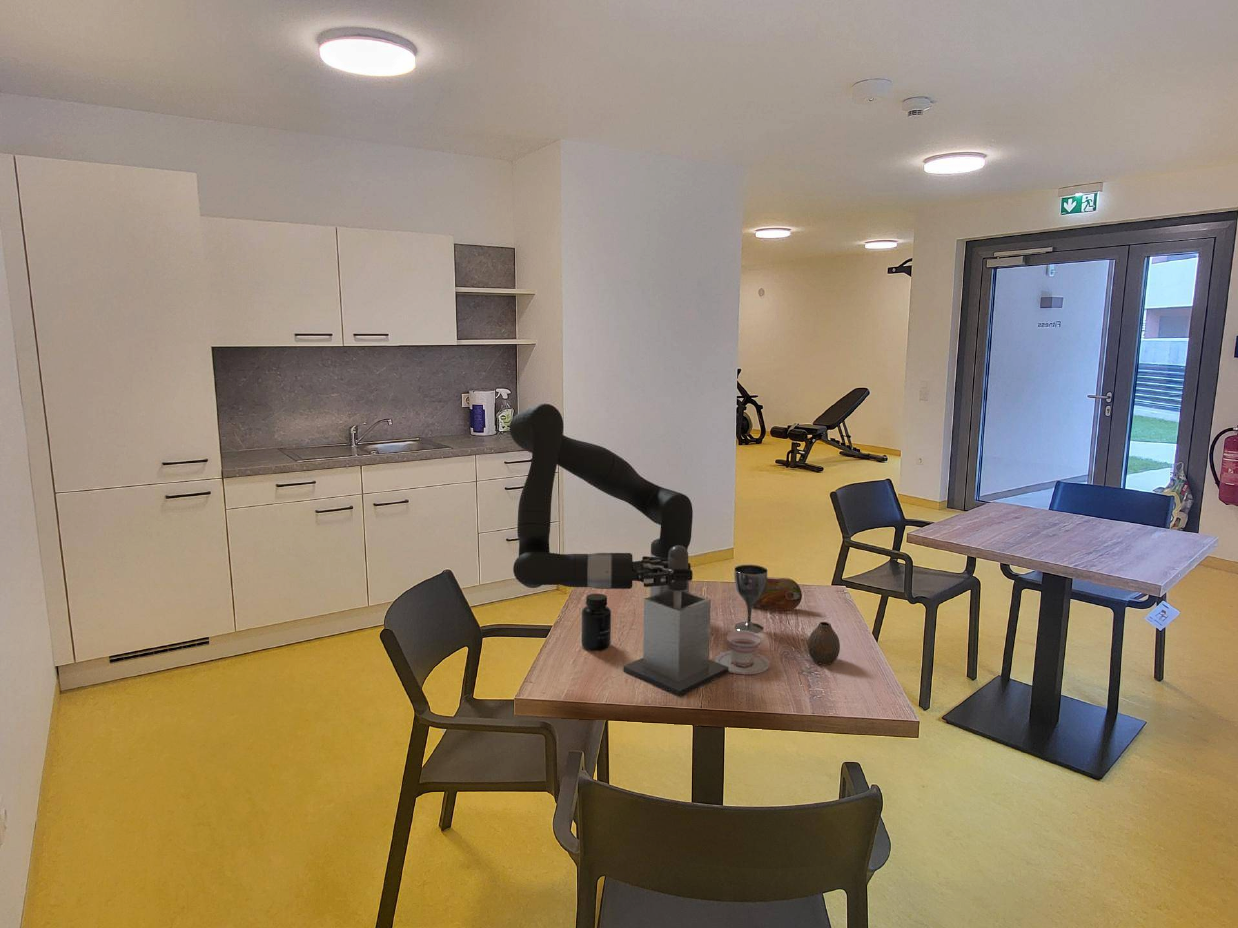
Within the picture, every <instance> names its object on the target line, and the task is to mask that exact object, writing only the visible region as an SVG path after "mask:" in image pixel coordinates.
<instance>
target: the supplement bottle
mask: <svg viewBox="0 0 1238 928" xmlns="http://www.w3.org/2000/svg"><path fill="white" fill-rule="evenodd" d="M585 605H586V606H584V607H583V609H582V611H581V637H580V639H581V646H582V648H583V649H585V650H588V651H591V652H601V651H604V650H607V649H609V647H611V644H612V643H611V641H612V640H611V639H612V638H611V637H612V634H611V633H612V632H611V631H612V610H611V608H610V607H609V606H607V605H608V596H607V595H606V594H603V593H590V594H588V595H586V599H585Z"/></svg>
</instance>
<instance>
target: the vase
mask: <svg viewBox="0 0 1238 928" xmlns="http://www.w3.org/2000/svg"><path fill="white" fill-rule="evenodd" d="M840 649H841V645H840V638H839V636H838V634H837V633H836V631H835V630H834V629H833V627H832V625H831V623H830V622H828V621H820V622H819V623H818V625H817V627H815V628H814V629H813V631H811V633H810V635H809V636H808V640H807V651H808V654H809V657H810V658H811V659H812V660H813V661H814V662H815V663H816V662H817V664H819V663H821V664H820V665H823V664H827V665H830V664H829V663H831V664H832V662H833V663H834V662H835V661H836V660H837V659H838V657H839V655H840Z"/></svg>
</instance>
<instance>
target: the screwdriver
mask: <svg viewBox="0 0 1238 928" xmlns="http://www.w3.org/2000/svg"><path fill="white" fill-rule="evenodd" d="M688 563H689V552H688V550H686V548H685V547H683V546H680V545H676V546H673V547H672V548H671V549H670V551H669V553H668V569H688ZM668 588H669V589H671V590H674V607H675V608H678V609H681V591H682V590H686V589H687V588H688V581H674V582H671V585H668Z"/></svg>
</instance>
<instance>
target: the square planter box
mask: <svg viewBox="0 0 1238 928" xmlns="http://www.w3.org/2000/svg"><path fill="white" fill-rule="evenodd" d="M711 605H712V600H711V598H708V597H704V596H702V595H698V594H696V593H692V592H690V591H689V592H686V591H683V590H682V591H681V609H678V608H675V607H674V590H668V591H665V592H662V593H659V594H656V595H654V596H651V597H650V596H648V597H645V598H643V640H642V641H643V645H642V646H643V647H642V648H643V649H642V651H643V654H642V655H643V656H642V657H641V658H639V659H637V660H635V661H633V662H630V663H628V664H626V665H623V669H622V670H623V672H624V673H626V674H628V675H631V676H633V677H635V678H637V679H639V680H642V681H644V682H646V683H648V684H651V685H653V686H655V687H658V688H659V689H661V690H664V691H666V692H669V693H671V694H673V695H675V696H677V697H679V696H680V697H682V696H684V695H686V694H688V693H690V692H693V691H694V690H696V689H698V688H700V687H702V686H705V685H706V684H709V683H711V682H712V681H714V680H716V679H718V678H720V677H723V676H724V675H726V674H728V673H730V672H729V667H727V666H725V665H722V664H719V663H717V662H715V660H714V661H713V660H712V659H710V648H711V647H710V643H711V642H710V641H711V639H710V638H711V613H712V610H711V608H712V606H711Z"/></svg>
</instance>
